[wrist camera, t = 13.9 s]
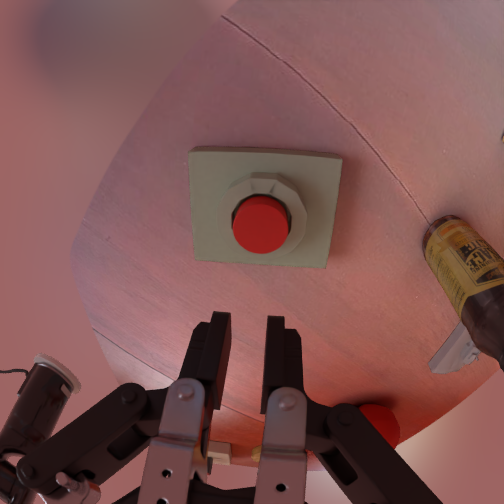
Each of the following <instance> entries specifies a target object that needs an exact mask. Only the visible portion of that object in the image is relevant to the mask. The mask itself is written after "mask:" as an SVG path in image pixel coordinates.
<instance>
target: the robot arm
mask: <svg viewBox="0 0 504 504" xmlns="http://www.w3.org/2000/svg"><path fill="white" fill-rule="evenodd" d="M231 339H232V334H231V313H228V312H217V311H214V312H213V314H212V318H211V322H210V323H208V322H200V323H199V324H198V325H197V327H196V328H195V329H194V330H193V333H192V336H191V341H190V343H189V346H188V349H187V352H186V355H185V359H184V362H183V365H182V368H181V372H180V375H179V377H178V379H177V380H176V381H174V382H173V383H172V384H171V385H170V386H169V387H167V388H164V389H157V390H145V389H144V388H143V387H142V386H141V385H139V384H136V383H125V384H123V385H121V386H119V387H118V388H117V389H115V390H114V391H113V392H112V393H110V394H109V395H107V396H106V397H105V398H103V399H102V400H101V401H99V402H98V403H97V404H95V405H94V406H93V407H91V408H90V409H89V410H87V411H86V412H85V413H83V414H82V415H81V416H79V417H78V418H77V419H75V420H74V421H73V422H71V423H70V424H68V425H67V426H66V427H64V428H63V429H61V430H60V431H59V432H58V433H56V434H55V435H53V436H52V437H51V435H52V432H53V430H54V428H55V426H56V424H57V421H58V419H59V417H60V415H61V413H62V411H63V409H64V406H65V405H66V403H67V401H68V399H69V398H70V396H71V393H72V392H73V390H74V386H73V384H72V382H71V381H70V380H69V379H68V378H67V377H66V376H65V375H64V374H63V373H62V372H60V371H59V370H58V369H56V368H55V367H53V366H52V365H50V364H48V363H45V362H39V363H37V362H36V363H35V364H34V366H33V368H32V369H31V370H30V372H28V371H27V370H24V369H12V370H8V371H1V370H0V373H12V372H25V373H26V379H25V381H24V382H23V384H22V386H21V388H20V390H19V391H18V393H17V395H18V397H19V398H18V400H17V402H16V403H15V405H14V407H13V409H12V411H11V413H10V415H9V417H8V419H7V421H6V423H5V425H4V427H3V429H2V431H1V432H0V499H1V500H2V501H3V502H5V503H7V504H33V502H34V500H35V498H36V494H37V493H38V494H39V495H40V496H41V497H42V499H43V500H44V502H45V503H46V504H96V503H97V502H98V501H99V500H100V496H101V491H100V488H99V485H101V484H102V483H104V482H105V481H106V480H107V479H109V478H110V477H111V476H112V475H114V474H115V473H116V472H117V471H119V470H120V469H121V468H123V467H124V466H125V465H126V464H127V463H129V462H130V461H131V460H132V459H133V458H135V457H136V456H137V455H138V454H140V453H141V452H142V451H143V450H144V449H145V448H147V447H148V446H149V449H148V454H147V458H146V463H145V467H144V472H143V477H142V482H141V486H139V487H137V488H136V489H134V490H133V491H131V492H130V493H128V494H127V495H125V496H123V497H122V498H120V499H119V500H117V501H116V502H114V503H112V504H308V503H307V502H305V501H304V500H305V488H306V474H307V452H306V451H305V449H307V450H310V451H313V452H314V454H315V455H316V457H317V458H318V459H319V461H320V462H321V463H322V465H323V466H324V467H325V469H326V470H327V471H328V473H329V474H330V475H331V477H332V478H333V479H334V480H335V482H336V483H337V484H338V486H339V487H340V488H341V490H342V491H343V492H344V494H345V495H346V496H347V497H348V499H349V500H350V501H351V502H352V503H353V504H443V503H442V502H441V501H440V500H439V499H438V498H437V496H436V495H435V494H434V493H433V492H432V491H431V490H430V489H429V488H428V487H427V485H426V484H425V483H424V482H423V481H422V480H421V479H420V478H419V477H418V475H417V474H416V473H415V472H414V471H413V470H412V469H411V468H410V467H409V465H408V464H407V463H406V462H405V461H404V460H403V459H402V458H401V456H400V455H399V454H398V453H397V452H396V451H395V450H394V449H393V447H392V446H391V445H390V444H389V443H388V442H387V441H386V439H385V438H384V437H383V436H382V435H381V434H380V433H379V431H378V430H377V429H376V428H375V427H374V426H373V425H372V423H371V422H370V421H369V420H368V419H367V418H366V417H365V415H364V414H363V413H362V412H361V411H360V410H359V409H358V408H357V407H356V406H354V405H351V404H347V403H343V404H338V405H336V406H334V407H328V406H325V405H321V404H318V403H316V402H314V401H312V400H311V399H310V398H309V397H308V396H307V395H306V393H305V391H304V386H303V364H302V345H301V337H300V335H299V334H298V332H297V330H296V329H285V318H284V316H268V318H267V330H266V342H265V355H264V370H263V384H262V398H261V411H260V414H265V426H264V432H263V440H262V447H261V453H260V460H259V467H258V473H257V479H256V485H255V487H248V488H240V489H231V490H222V489H219V488H216V487H214V486H211V485H208V484H207V457H208V448H209V440H210V431H211V421H212V415H213V410H214V409H215V410H220V406H221V401H222V395H223V389H224V384H225V378H226V372H227V367H228V361H229V355H230V349H231ZM11 456H19V457H22V458H21V459H20V460H19V461H18V463H17V466H14V465H13V464H11V463H10V462H8V461H7V460H8V458H9V457H11ZM167 475H168V478H166V476H167Z"/></svg>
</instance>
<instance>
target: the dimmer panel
mask: <svg viewBox="0 0 504 504" xmlns="http://www.w3.org/2000/svg"><path fill="white" fill-rule="evenodd" d="M208 457H212V458H213V463H216V464H223V465H231V457H232V454H231V445H230V443H224V442H216V441H209V448H208Z"/></svg>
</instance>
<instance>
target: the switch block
mask: <svg viewBox="0 0 504 504" xmlns="http://www.w3.org/2000/svg"><path fill="white" fill-rule="evenodd" d="M342 161H343V159H342V158H341V157H339V156H338V155H337V154H332V153H323V152H313V151H301V150H288V149H273V148H251V147H195V148H193V149H191V150H190V151H188V164H189V185H190V203H191V218H192V231H193V244H194V255H195V260H200V261H214V262H229V263H244V264H259V265H275V266H292V267H308V268H326V265H327V260H328V255H329V249H330V243H331V238H332V232H333V226H334V219H335V213H336V206H337V200H338V192H339V185H340V178H341V170H342ZM256 196H266V197H270V198H273V199H275V200H276V201H278V202H279V203H280V204H281V205H282V206H283V207H284V209H285V211H286V213H287V218H288V235H287V238H286V240H285V242H284V243H283V245H282V246H281V247H279V248H278V249H277V250H275V251H273V252H270V253H266V254H257V253H252V252H249V251H247V250H246V249H244V248H243V247H242V246H240V245H239V243H238V242H237V241H236V239H235V237H234V234H233V222H234V219H235V216H236V213H237V210H238V209H239V207H240V206H241V204H242V203H243V202H245V201H246V200H248V199H250V198H252V197H256Z"/></svg>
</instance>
